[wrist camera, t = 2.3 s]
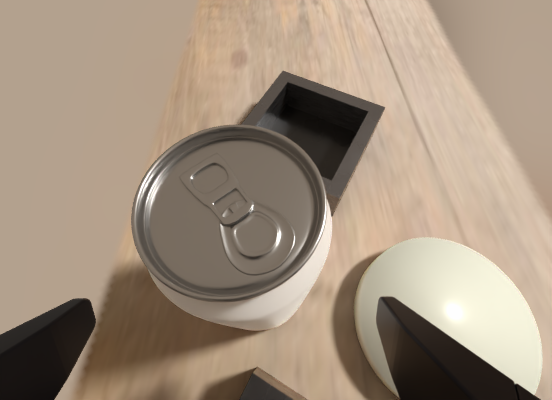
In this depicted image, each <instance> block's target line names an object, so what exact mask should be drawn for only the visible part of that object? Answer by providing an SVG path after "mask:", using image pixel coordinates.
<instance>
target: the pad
mask: <svg viewBox="0 0 552 400" xmlns="http://www.w3.org/2000/svg"><path fill="white" fill-rule="evenodd" d="M381 296H392V297H395V298H396V299H398V300H399V301H400V302H402V303H403V304H405V305H406V306H408V307H409V308H410V309H412V310H413V311H415V312H416V313H418V314H419V315H420V316H422V317H423V318H425V319H426V320H428V321H429V322H430V323H432V324H433V325H435V326H436V327H438V328H439V329H440V330H442V331H443V332H445V333H446V334H448V335H449V336H450V337H452V338H453V339H455V340H456V341H458V342H459V343H460V344H462V345H463V346H465V347H466V348H467V349H469V350H470V351H472V352H473V353H475V354H476V355H477V356H479V357H480V358H482V359H483V360H485V361H486V362H487V363H489V364H490V365H492V366H493V367H495V368H496V369H497V370H499V371H500V372H502V373H503V374H505V375H506V376H507V377H509V378H510V379H512V380H513V381H514V383H515V384H516V383H517V384H519V385H520V386H522V387H523V388H525V389H526V390H528V391H529V392H530V393H532V394H533V395H534V394H535V393H536V390H537V387H538V384H539V382H540V377H541V372H542V357H543V355H542V345H541V340H540V335H539V331H538V328H537V325H536V322H535V319H534V316H533V314H532V312H531V310H530V308H529V306H528V304H527V302H526V301H525V299H524V297H523V296H522V294H521V293H520V291H519V290H518V289H517V287H516V286H515V284H514V283H513V282H512V281H511V280H510V279H509V278H508V276H507V275H506V274H505V273H504V272H503V271H502V270H500V269H499V268H498V267H497V266H496V265H495V264H494V263H492V262H491V261H490V260H488V259H487V258H486V257H484V256H483V255H481V254H479V253H478V252H476V251H474V250H472V249H470V248H468V247H466V246H464V245H461V244H459V243H456V242H453V241H449V240H446V239H439V238H427V237H424V238H414V239H410V240H405V241H403V242H400V243H398V244H396V245H394V246H392V247H390V248H389V249H387V250H386V251H385V252H383V253H382V254H381V255H380V256H378V257H377V258H376V259H375V260H374V261H373V262H372V263H371V264H370V265H369V266H368V268H367V269H366V271H365V272H364V273H363V275H362V277H361V279H360V281H359V284H358V287H357V290H356V295H355V301H354V319H355V327H356V332H357V336H358V339H359V342H360V345H361V348H362V350H363V352H364V355H365V357H366V359H367V361H368V362H369V364H370V366H371V368H372V369H373V371H374V372H375V373H376V375H377V376H378V377H379V379H380V380H381V381H382V382H383V383H384V385H385V386H386V387H387V388H388V389H389V390H390V391H391V392H392V393H393V394H395V395H396V396H397V397H398V398H399V399H400V397H399V395H398V392H397V390H396V387H395V385H394V382H393V379H392V377H391V374H390V370H389V367H388V364H387V360H386V357H385V353H384V350H383V346H382V343H381V339H380V336H379V332H378V329H377V325H376V314H377V306H378V300H379V298H380V297H381Z"/></svg>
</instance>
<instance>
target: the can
mask: <svg viewBox="0 0 552 400" xmlns="http://www.w3.org/2000/svg"><path fill="white" fill-rule="evenodd" d="M131 225H132V234H133V239H134V243H135V246H136V249H137V251H138V253H139V255H140V257H141V259H142V261H143V262H144V264H145V265H146V267H147V269H148V271H149V274H150V276H151V278H152V279H153V281H154V283H155V284H156V286H157V287H158V288H159V290H160V291H161V292H162V293H163V294H164V295H165V296H166V297H167V298H168V299H169V300H170V301H171V302H172V303H174V304H175V305H176V306H178V307H179V308H181V309H182V310H184V311H185V312H187V313H189V314H191V315H193V316H195V317H198V318H201V319H203V320H206V321H210V322H213V323H217V324H221V325H226V326H230V327H235V328H240V329H245V330H253V331H260V330H268V329H272V328H275V327H278V326H280V325H282V324H283V323H285V322H286V321H287V320H288V319H289V318H291V317H292V315H293V314H294V313H295V312H296V311H297V309H298V308H299V307H300V305H301V304H302V302H303V301H304V299H305V298H306V296H307V295H308V293H309V291H310V290H311V288H312V286H313V285H314V283H315V281H316V280H317V278H318V276H319V274H320V272H321V270H322V268H323V266H324V263H325V261H326V258H327V255H328V252H329V248H330V243H331V236H332V218H331V211H330V207H329V203H328V200H327V195H326V190H325V186H324V182H323V179H322V177H321V174H320V172H319V170H318V168H317V167H316V165H315V164H314V162H313V161H312V159H311V158H310V157H309V156H308V154H307V153H306V152H305V151H304V150H303V149H302V148H301V147H299V146H298V145H297V144H296V143H294V142H293V141H291V140H290V139H288V138H287V137H285V136H283V135H281V134H279V133H277V132H274V131H272V130H269V129H265V128H261V127H257V126H250V125H224V126H218V127H213V128H209V129H205V130H202V131H199V132H197V133H194V134H192V135H190V136H188V137H186V138H184V139H182V140H180V141H179V142H177V143H176V144H174V145H173V146H171V147H170V148H169V149H167V150H166V151H165V152H164V153H163V154H162V155H161V156H160V157H159V158H158V159H157V160H156V161H155V162H154V163H153V164H152V166H151V167H150V168H149V170H148V171H147V172H146V174H145V176H144V177H143V179H142V181H141V183H140V185H139V187H138V190H137V192H136V195H135V198H134V202H133V207H132V216H131Z"/></svg>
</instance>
